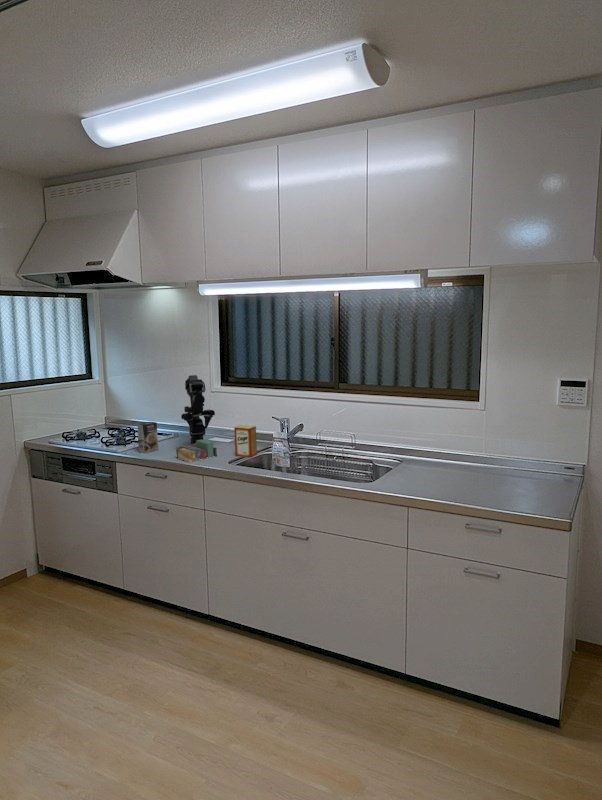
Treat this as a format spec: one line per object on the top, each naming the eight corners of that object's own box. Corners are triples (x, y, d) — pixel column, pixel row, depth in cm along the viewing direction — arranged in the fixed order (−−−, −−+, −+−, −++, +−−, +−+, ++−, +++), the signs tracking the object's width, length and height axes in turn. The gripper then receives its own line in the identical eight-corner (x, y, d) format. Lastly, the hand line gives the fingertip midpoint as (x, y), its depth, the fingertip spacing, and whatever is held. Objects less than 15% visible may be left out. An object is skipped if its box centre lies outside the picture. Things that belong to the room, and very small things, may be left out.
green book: (202, 453, 308) (201, 439, 306) (213, 457, 300) (212, 442, 298) (196, 454, 305) (196, 440, 304) (208, 458, 297) (207, 443, 296)
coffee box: (145, 453, 311) (143, 425, 309) (138, 451, 315) (136, 423, 313) (159, 449, 318) (157, 422, 316) (151, 448, 322) (149, 421, 320)
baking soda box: (256, 454, 303) (255, 425, 300) (251, 457, 297) (249, 428, 294) (241, 453, 306) (240, 424, 304) (235, 456, 300) (234, 426, 298)
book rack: (203, 452, 310) (203, 441, 309) (216, 456, 301) (216, 445, 300) (176, 458, 299) (176, 447, 298) (189, 462, 290) (188, 451, 289)
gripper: (203, 398, 322) (205, 425, 325) (175, 402, 309) (177, 430, 312) (214, 400, 314) (216, 427, 316) (186, 405, 301) (187, 433, 304)
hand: (199, 429), depth 312 cm, fingers open, 9 cm apart
